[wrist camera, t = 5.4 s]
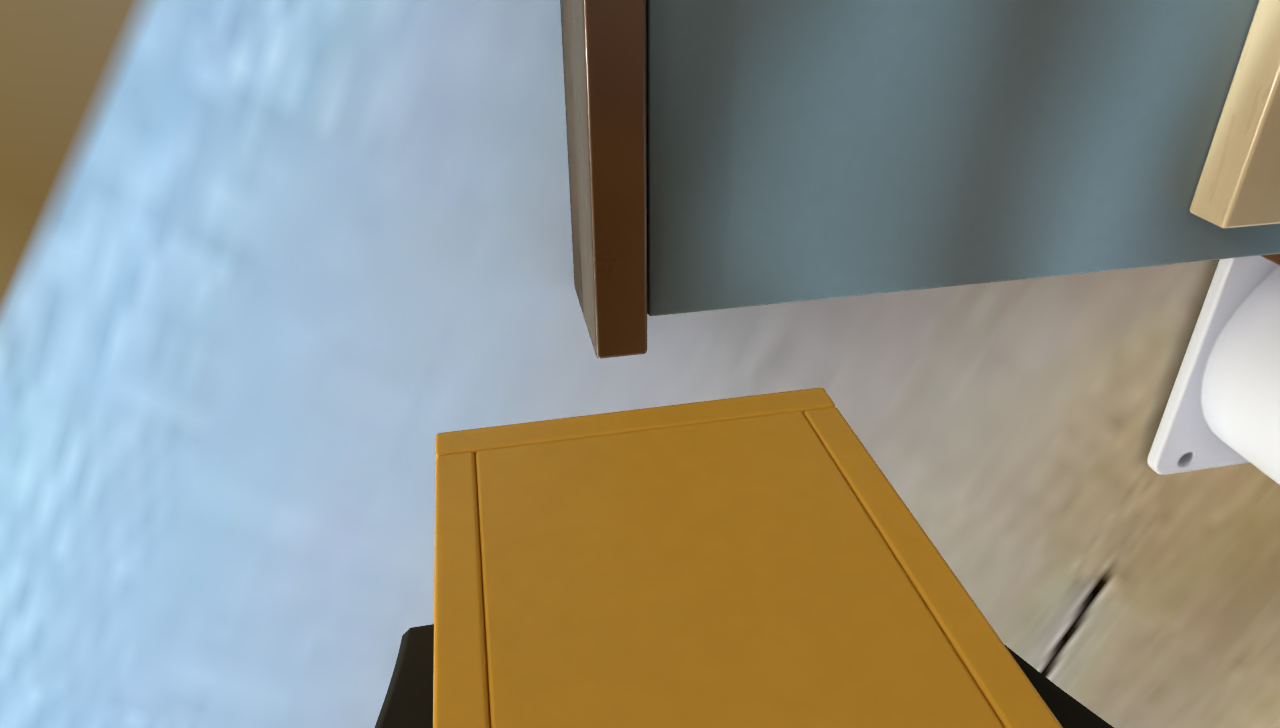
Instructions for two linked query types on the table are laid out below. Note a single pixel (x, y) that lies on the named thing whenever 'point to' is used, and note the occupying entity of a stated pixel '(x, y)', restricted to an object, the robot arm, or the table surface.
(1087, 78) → the toy bed
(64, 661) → the table surface
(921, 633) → the small bin
